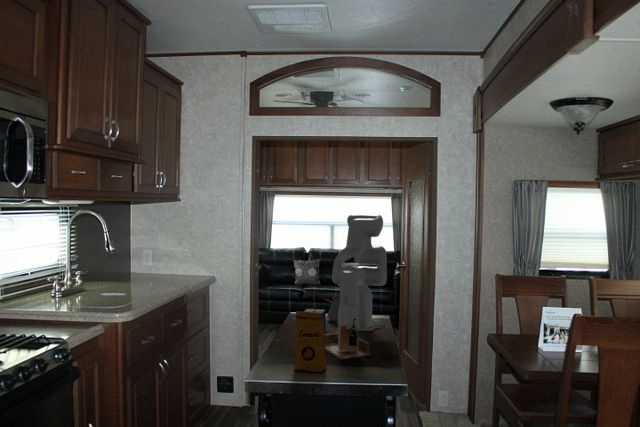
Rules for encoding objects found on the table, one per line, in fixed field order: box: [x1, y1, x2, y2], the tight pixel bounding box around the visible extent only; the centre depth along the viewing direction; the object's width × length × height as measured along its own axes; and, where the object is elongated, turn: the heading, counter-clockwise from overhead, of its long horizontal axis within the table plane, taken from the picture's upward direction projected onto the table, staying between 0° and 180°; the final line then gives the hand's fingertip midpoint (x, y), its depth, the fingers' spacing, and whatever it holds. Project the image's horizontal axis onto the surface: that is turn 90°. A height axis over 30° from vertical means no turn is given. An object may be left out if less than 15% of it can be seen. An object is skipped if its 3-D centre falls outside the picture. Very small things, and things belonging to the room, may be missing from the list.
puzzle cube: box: [303, 308, 327, 331], centre depth 237 cm, size 10×10×10 cm
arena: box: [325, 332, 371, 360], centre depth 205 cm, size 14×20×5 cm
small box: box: [337, 323, 360, 351], centre depth 200 cm, size 8×6×10 cm
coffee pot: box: [309, 291, 340, 323], centre depth 260 cm, size 21×12×15 cm, turn 76°
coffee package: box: [293, 311, 328, 373], centre depth 181 cm, size 10×12×22 cm
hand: (348, 342), depth 200 cm, fingers closed on small box, 7 cm apart
